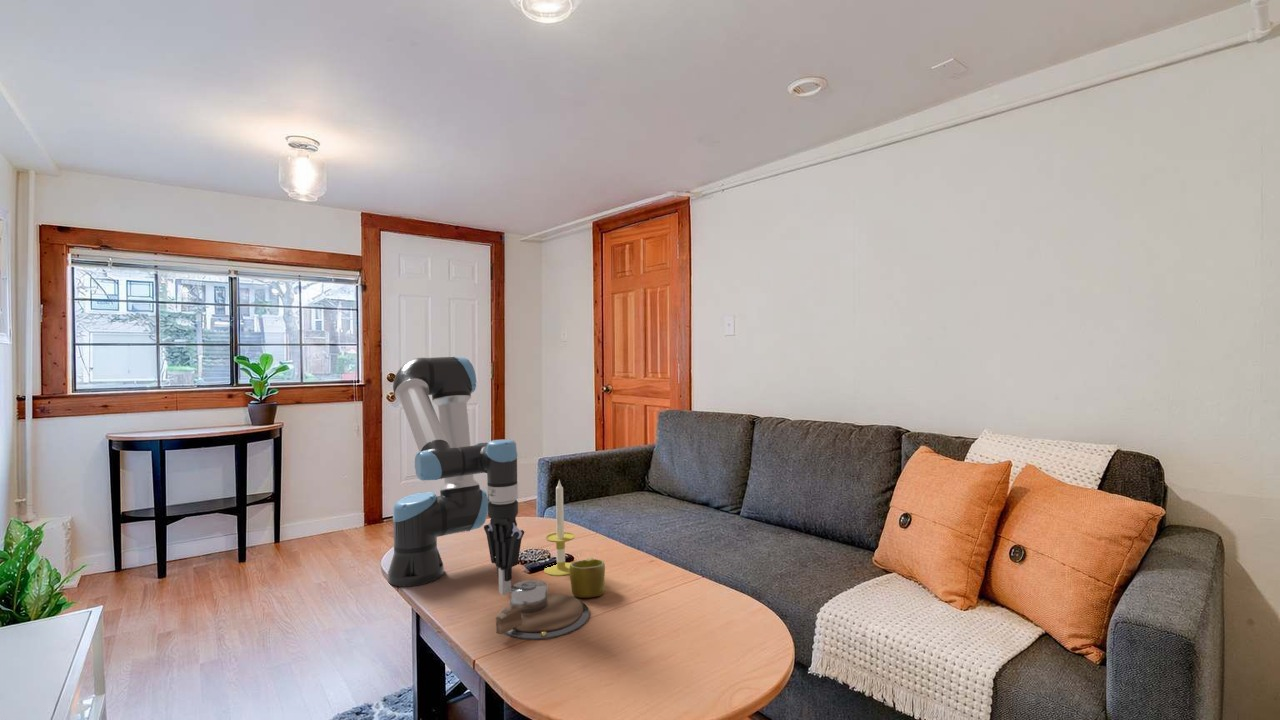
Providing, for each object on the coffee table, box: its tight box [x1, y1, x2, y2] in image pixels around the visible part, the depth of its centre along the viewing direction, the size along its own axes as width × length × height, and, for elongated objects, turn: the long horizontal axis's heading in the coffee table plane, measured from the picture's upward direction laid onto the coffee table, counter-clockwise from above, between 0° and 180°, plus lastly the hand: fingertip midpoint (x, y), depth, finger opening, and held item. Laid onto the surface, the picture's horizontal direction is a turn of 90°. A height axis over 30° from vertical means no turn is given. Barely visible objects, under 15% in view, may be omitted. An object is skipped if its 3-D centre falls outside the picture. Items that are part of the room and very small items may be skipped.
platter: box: [495, 593, 583, 635], centre depth 137 cm, size 19×24×5 cm
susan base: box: [499, 599, 590, 641], centre depth 138 cm, size 22×22×1 cm
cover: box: [510, 579, 549, 613], centre depth 141 cm, size 9×9×5 cm
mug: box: [569, 557, 606, 599], centre depth 153 cm, size 12×10×10 cm
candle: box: [543, 479, 576, 577], centre depth 169 cm, size 10×10×27 cm
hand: (505, 592), depth 147 cm, fingers closed
